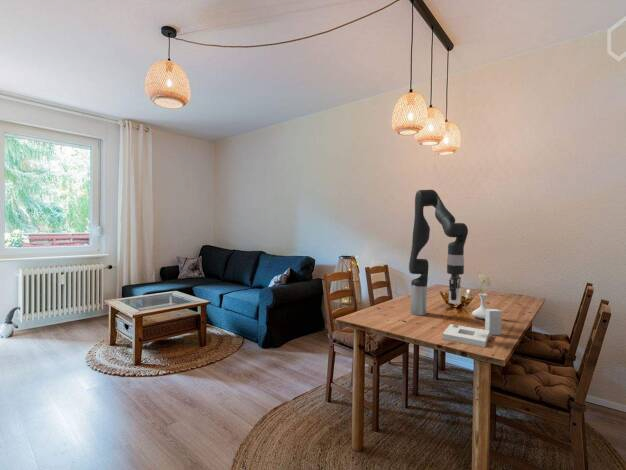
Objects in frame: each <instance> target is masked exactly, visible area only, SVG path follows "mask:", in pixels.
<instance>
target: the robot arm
mask: <svg viewBox="0 0 626 470" xmlns="http://www.w3.org/2000/svg"><path fill="white" fill-rule="evenodd" d="M424 207H433V208H435V210H434V211H435V212H434V217H435V218H436V220H437V222H438V223H439V224H440V225H441V227H442V230H443V232H444V235H446V236H447V237H448V238H455V240H454V241H451V242H450V243H448V245H447V259H446V263H447V264H446V273H447V274H449V275H451V277H449V279H448V283H449V286H450V291H451V300H456V292H457V287H458V286H461V281H462V277H461V276H460V275H464V272H465V268H464V267H465V257H464V248H465V244H466V240H467V237H468V234H469V229H468V226H467V224H465V223H463V222H456V217H455V216H454V215H453V213H451V212H450V211H449V210H448V209H447V207H446V206H445V205H444V203H443V201H442V199H441V197H440V196H439V194H438V192H437V191H436V190H434V189H419V190H417V191H416V194H415V197H414V221H413V229H412V238H411V239H412V242H411V250H410V251H411V252H410V257H409V263H408V272H409V273H410V274H412V275H420V276H418V277H417V278H413V279H412V280H411V284H410V287H411V288H410V314H411V315H415V316H425V315H427V314H428V313H427V311H428V310H427V309H428V307H427V305H428V301H427V300H428V280H429V267H430V266H429V261H428V259H426V258H418V257H419V254H420V252H421V251H422V249H423V248H424V247H425V246H426V245H427V243H428V242H429V239H430V232H431V227H430V226H429V223H428V221H427V219H426V217H425V215H424ZM455 285H456V286H455ZM452 287H454V289H452Z"/></svg>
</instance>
